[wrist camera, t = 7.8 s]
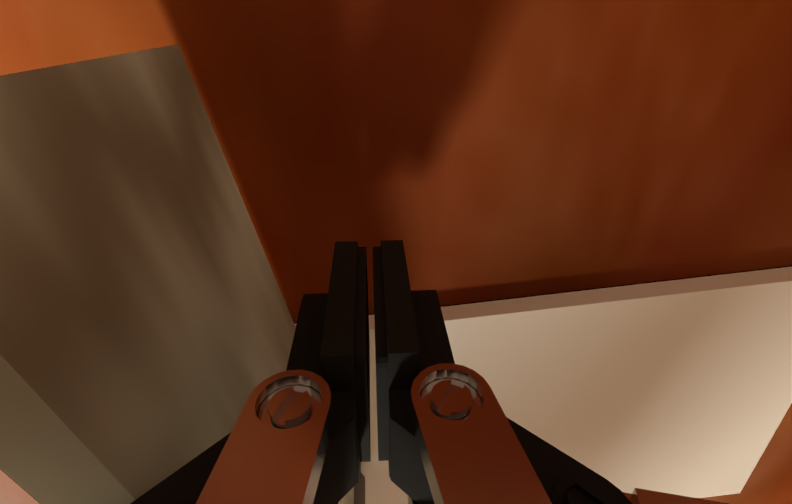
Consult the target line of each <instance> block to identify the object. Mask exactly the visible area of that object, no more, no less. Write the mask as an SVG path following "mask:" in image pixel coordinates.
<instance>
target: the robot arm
mask: <svg viewBox="0 0 792 504" xmlns="http://www.w3.org/2000/svg"><path fill="white" fill-rule="evenodd" d="M373 282H374V319H375V357H376V393H377V430H378V461H387V460H388V464H389V477H390V480H391V481H392V482H393V483H394V484H395V485H397V486H398V487H399V488H400V489H401V490H402V491H403V492H405V493H406V494H407V495H408V504H728V503H722V502H716V501H710V500H704V499H699V498H693V497H687V496H681V495H675V494H669V493H663V492H657V491H651V490H645V489H639V488H635V489H634V491H633V493H632V494H631V493H625V492H622V491H621V490H620V489H619V488H617V487H616V486H615V485H613V484H612V483H611V482H609V481H608V480H607V479H605V478H604V477H602V476H601V475H599V474H597V473H596V472H594V471H593V470H591V469H589V468H588V467H586V466H585V465H583V464H581V463H580V462H578V461H576V460H575V459H573V458H572V457H570V456H568V455H567V454H565V453H564V452H562V451H560V450H559V449H557V448H556V447H554V446H552V445H551V444H549V443H547V442H546V441H544V440H543V439H541V438H539V437H538V436H536V435H535V434H533V433H531V432H530V431H528V430H527V429H525V428H523V427H522V426H520V425H518V424H517V423H515V422H514V421H512V420H510V419H509V418H507V417H506V416H505V414H504V412H503V410H502V408H501V406H500V404H499V402H498V401H497V399H496V397H495V395H494V393H493V391H492V389H491V387H490V386H489V384H488V383H487V382H486V380H485V379H484V378H483V377H482V376H481V375H480V374H478V373H477V372H476V371H474V370H472V369H470V368H468V367H465V366H463V365H458V364H455V362H454V358H453V354H452V350H451V346H450V342H449V338H448V334H447V330H446V326H445V322H444V318H443V315H442V311H441V307H440V303H439V299H438V295H437V292H436V290H419V291H411V290H410V284H409V278H408V271H407V265H406V259H405V253H404V246H403V241H402V240H395V241H381V247H373ZM370 461H371V449H370V342H369V311H368V283H367V255H366V247H358V242H357V241H356V242H335V249H334V256H333V264H332V271H331V278H330V286H329V293H326V294H304V295H303V298H302V302H301V307H300V311H299V316H298V320H297V324H296V329H295V333H294V338H293V342H292V347H291V351H290V355H289V360H288V364H287V369H286V371H284V372H280V373H276V374H274V375H272V376H271V377H269V378H267V379H265V380H264V381H262V382H261V383H260V384H259V385H258V386H257V387H255V389H254V390H253V392H252V393H251V394H250V396H249V397H248V399H247V401H246V403H245V405H244V407H243V409H242V411H241V413H240V415H239V417H238V419H237V421H236V424H235V426H234V428H233V430H232V432H231V433H229V434H228V435H226V436H225V437H223V438H222V439H221V440H219V441H218V442H216V443H215V444H214V445H212V446H211V447H209V448H208V449H207V450H205V451H204V452H202V453H201V454H199V455H198V456H197V457H195V458H194V459H192V460H191V461H190V462H188V463H187V464H185V465H184V466H183V467H181V468H180V469H178V470H177V471H175V472H174V473H173V474H171V475H170V476H168V477H167V478H166V479H164V480H163V481H161V482H160V483H159V484H157V485H156V486H154V487H153V488H152V489H150V490H149V491H147V492H146V493H144V494H143V495H142V496H140V497H139V498H137V499H136V500H135V501H133V502H132V503H130V504H342V498H343V497H344V496H345V495H346V494H347V493H348V492H349V491H350V490H351V489H352V488H353V487H354V486H355V485H356V484H357V483H358V479H361V462H370Z"/></svg>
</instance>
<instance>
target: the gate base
mask: <svg viewBox="0 0 792 504" xmlns="http://www.w3.org/2000/svg"><path fill="white" fill-rule="evenodd" d="M441 311H442V315H443V318H444V322H445V326H446V330H447V334H448V338H449V342H450V346H451V350H452V354H453V358H454V362H455V364H458V365H463V366H465V367H468V368H470V369H472V370H474V371H476V372H477V373H478V374H480V375H481V376H482V377H483V378H484V379H485V380H486V382H487V383H488V384H489V386H490V387H491V389H492V391H493V393H494V395H495V397H496V399H497V401H498V402H499V404H500V406H501V408H502V410H503V412H504V414H505V416H506V417H507V418H509V419H510V420H512V421H514V422H515V423H517V424H518V425H520V426H522V427H523V428H525V429H527V430H528V431H530V432H531V433H533V434H535V435H536V436H538V437H539V438H541V439H543V440H544V441H546V442H547V443H549V444H551V445H552V446H554V447H556V448H557V449H559V450H560V451H562V452H564V453H565V454H567V455H568V456H570V457H572V458H573V459H575V460H576V461H578V462H580V463H581V464H583V465H585V466H586V467H588V468H589V469H591V470H593V471H594V472H596V473H597V474H599V475H601V476H602V477H604V478H605V479H607V480H608V481H609V482H611V483H612V484H613V485H615V486H616V487H617V488H619V489H620V490H621V491H622V492H625V493H631V494H632V493H633V491H634V489H635V488H639V489H645V490H651V491H657V492H663V493H669V494H675V495H681V496H687V497H693V498H703V497H711V496H720V495H729V494H737V493H740V492H741V490H742V489H743V487H744V485H745V483H746V482H747V480H748V478H749V476H750V475H751V473H752V471H753V469H754V468H755V466H756V464H757V463H758V461H759V459H760V457H761V456H762V454H763V452H764V450H765V449H766V447H767V445H768V443H769V442H770V440H771V438H772V436H773V435H774V433H775V431H776V429H777V428H778V426H779V424H780V422H781V421H782V419H783V417H784V415H785V414H786V412H787V410H788V408H789V407H790V405H791V403H792V267H784V268H775V269H767V270H758V271H749V272H741V273H732V274H723V275H715V276H706V277H697V278H689V279H680V280H671V281H662V282H654V283H645V284H636V285H628V286H619V287H610V288H602V289H593V290H584V291H576V292H567V293H558V294H550V295H541V296H532V297H524V298H515V299H506V300H497V301H489V302H480V303H471V304H463V305H454V306H445V307H441ZM294 325H295V327H296V324H294ZM369 342H370V449H371V461H370V462H361V473H362V474H363V475H364V477H365V504H408V495H407V494H406V493H405V492H403V491H402V490H401V489H400V488H399V487H398V486H397V485H395V484H394V483H393V482H392V481H391V480H390V477H389V464H388V460H387V461H378V430H377V393H376V357H375V319H374V315H369Z"/></svg>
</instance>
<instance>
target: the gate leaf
mask: <svg viewBox="0 0 792 504" xmlns="http://www.w3.org/2000/svg"><path fill="white" fill-rule="evenodd" d="M295 329H296V327H295V325H294V322H293V320H292V317H291V315H290V313H289V310H288V308H287V305H286V303H285V300H284V298H283V296H282V293H281V291H280V288H279V286H278V284H277V281H276V279H275V276H274V274H273V272H272V269H271V267H270V264H269V262H268V259H267V257H266V255H265V252H264V250H263V247H262V245H261V243H260V240H259V238H258V235H257V233H256V230H255V228H254V226H253V223H252V221H251V218H250V216H249V214H248V211H247V209H246V206H245V204H244V202H243V199H242V197H241V194H240V192H239V189H238V187H237V185H236V182H235V180H234V177H233V175H232V173H231V170H230V168H229V165H228V163H227V161H226V158H225V156H224V153H223V151H222V148H221V146H220V144H219V141H218V139H217V136H216V134H215V132H214V129H213V127H212V124H211V122H210V119H209V117H208V115H207V112H206V110H205V107H204V105H203V103H202V100H201V98H200V95H199V93H198V91H197V88H196V86H195V83H194V81H193V78H192V76H191V74H190V71H189V69H188V66H187V64H186V62H185V59H184V57H183V54H182V52H181V50H180V47H179V45H178V44H177V45H172V46H166V47H160V48H155V49H149V50H143V51H138V52H132V53H127V54H121V55H115V56H110V57H104V58H98V59H93V60H87V61H81V62H76V63H70V64H64V65H59V66H53V67H47V68H42V69H36V70H30V71H25V72H19V73H13V74H8V75H2V76H0V470H2V471H3V472H4V473H5V474H6V475H7V476H9V477H10V478H11V479H12V480H13V481H14V482H15V483H17V484H18V485H19V486H20V487H21V488H22V489H24V490H25V491H26V492H27V493H28V494H29V495H30V496H32V497H33V498H34V499H35V500H36V501H37V502H39V503H40V504H130V503H132V502H133V501H135V500H136V499H137V498H139V497H140V496H142V495H143V494H144V493H146V492H147V491H149V490H150V489H152V488H153V487H154V486H156V485H157V484H159V483H160V482H161V481H163V480H164V479H166V478H167V477H168V476H170V475H171V474H173V473H174V472H175V471H177V470H178V469H180V468H181V467H183V466H184V465H185V464H187V463H188V462H190V461H191V460H192V459H194V458H195V457H197V456H198V455H199V454H201V453H202V452H204V451H205V450H207V449H208V448H209V447H211V446H212V445H214V444H215V443H216V442H218V441H219V440H221V439H222V438H223V437H225V436H226V435H228V434H229V433H231V432H232V430H233V428H234V426H235V424H236V421H237V419H238V417H239V415H240V413H241V411H242V409H243V407H244V405H245V403H246V401H247V399H248V397H249V396H250V394H251V393H252V392H253V390H254V389H255V387H257V386H258V385H259V384H260V383H261V382H262V381H264V380H265V379H267V378H269V377H271V376H272V375H274V374H276V373H280V372H284V371H286V369H287V364H288V360H289V355H290V351H291V347H292V342H293V338H294V333H295ZM342 504H365V477H364V475H363V474H362V473H361V479H358V483H357V484H356V485H355V486H354V487H353V488H352V489H351V490H350V491H349V492H348V493H347V494H346V495H345V496H344V497H343V498H342Z"/></svg>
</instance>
